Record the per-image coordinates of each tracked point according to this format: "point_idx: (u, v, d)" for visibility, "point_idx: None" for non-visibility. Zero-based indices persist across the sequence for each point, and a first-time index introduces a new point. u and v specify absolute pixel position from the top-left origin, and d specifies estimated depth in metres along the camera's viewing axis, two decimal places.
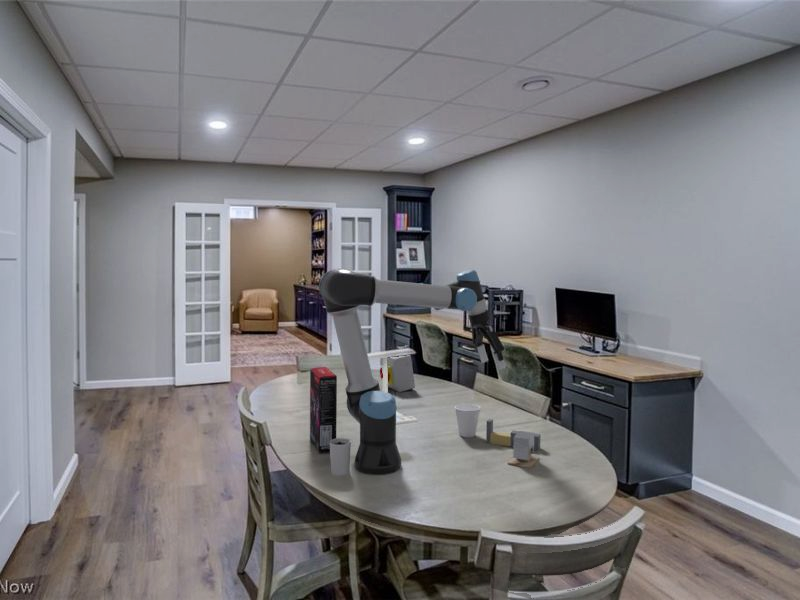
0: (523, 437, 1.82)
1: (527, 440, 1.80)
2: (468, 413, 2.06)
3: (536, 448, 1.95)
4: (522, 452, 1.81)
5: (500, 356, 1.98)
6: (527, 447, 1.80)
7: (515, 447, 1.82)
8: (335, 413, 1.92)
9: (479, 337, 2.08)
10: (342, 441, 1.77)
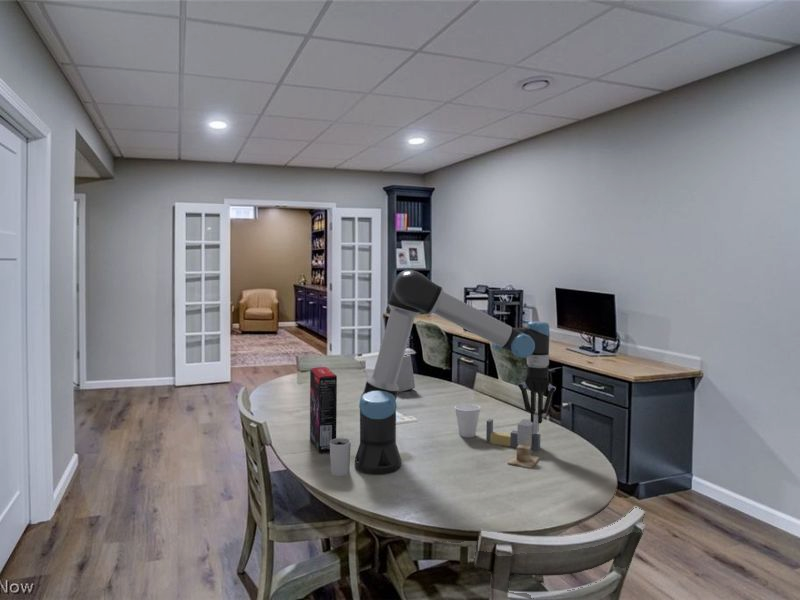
0: (526, 425, 1.95)
1: (530, 427, 1.94)
2: (468, 413, 2.06)
3: (536, 448, 1.95)
4: (525, 439, 1.95)
5: None
6: (530, 434, 1.94)
7: (519, 434, 1.96)
8: (335, 413, 1.92)
9: None
10: (342, 441, 1.77)
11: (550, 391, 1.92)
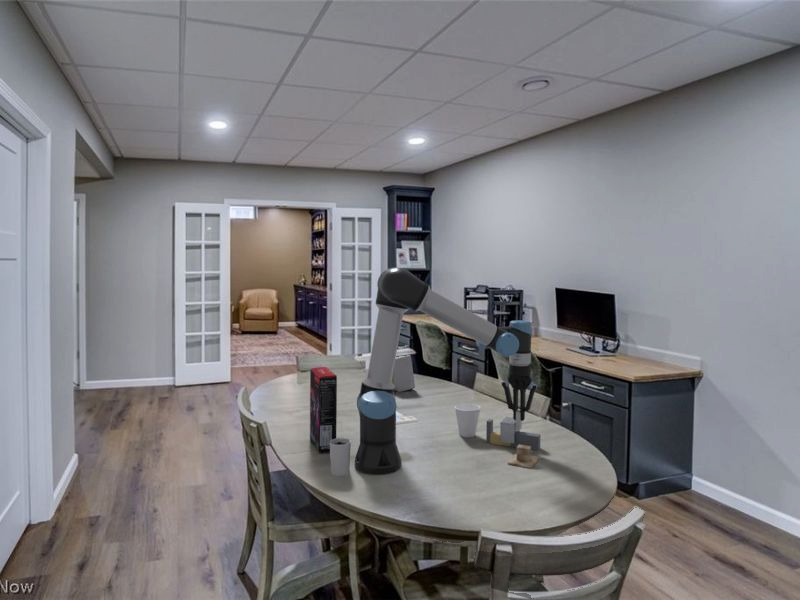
0: (509, 422, 1.98)
1: (512, 425, 1.96)
2: (468, 413, 2.06)
3: (536, 448, 1.95)
4: (508, 436, 1.97)
5: None
6: (512, 431, 1.97)
7: (502, 431, 1.98)
8: (335, 413, 1.92)
9: None
10: (342, 441, 1.77)
11: (532, 389, 1.95)
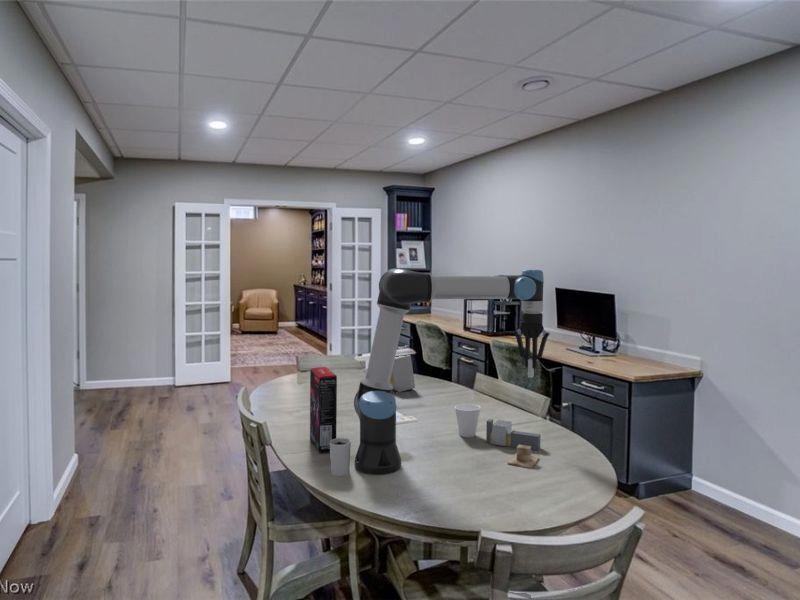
0: (501, 425, 1.99)
1: (504, 428, 1.98)
2: (468, 413, 2.06)
3: (536, 448, 1.95)
4: (499, 439, 1.99)
5: None
6: (504, 434, 1.98)
7: (494, 434, 2.00)
8: (335, 413, 1.92)
9: None
10: (342, 441, 1.77)
11: (544, 336, 1.98)
